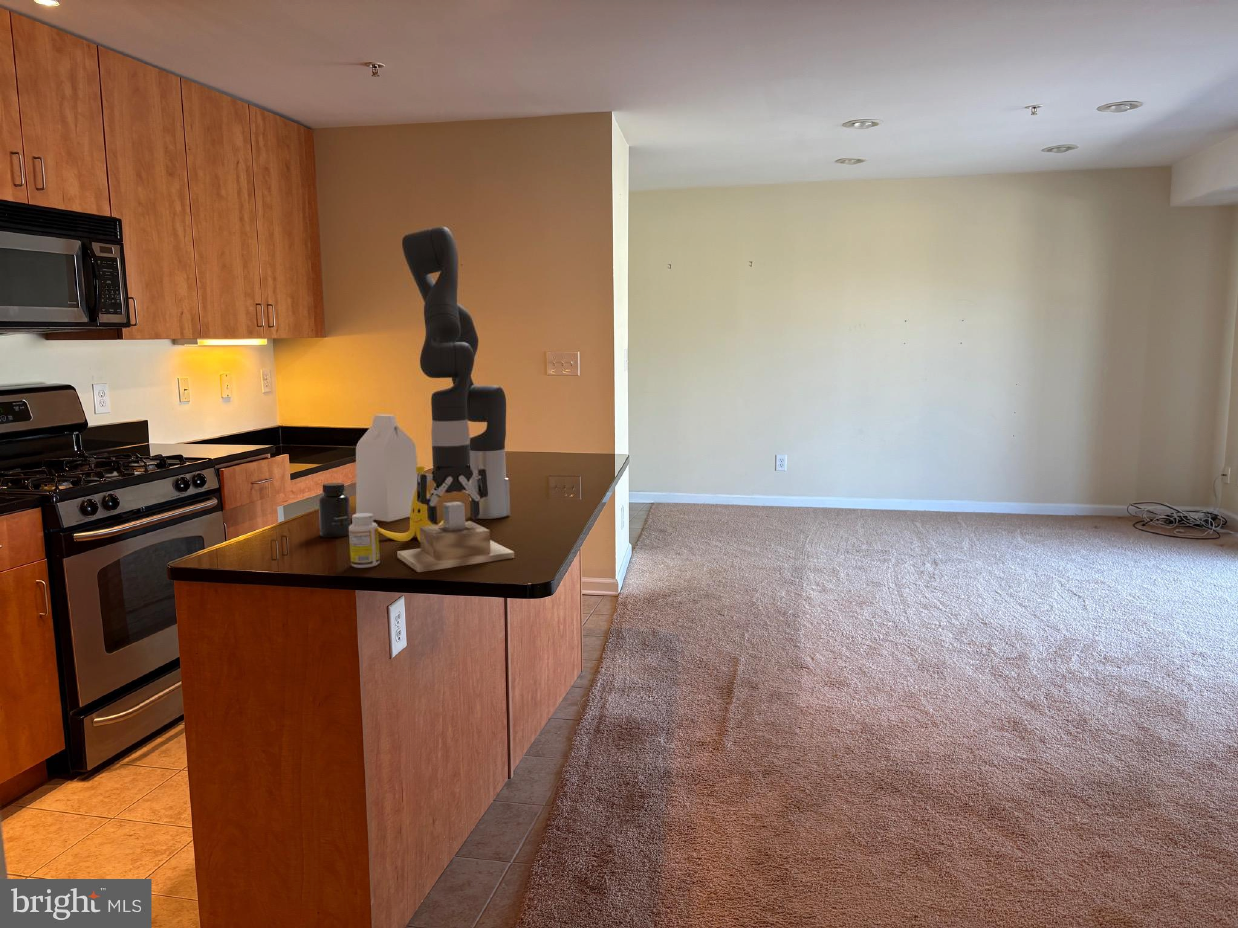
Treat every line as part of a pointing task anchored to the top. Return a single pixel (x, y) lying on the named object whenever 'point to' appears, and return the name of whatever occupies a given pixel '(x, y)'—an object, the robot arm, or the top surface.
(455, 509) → the gray rectangular block
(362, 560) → the supplement bottle
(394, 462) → the milk
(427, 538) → the stone box on board
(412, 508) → the banana peel
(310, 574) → the top surface
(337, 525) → the supplement bottle
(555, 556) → the top surface
